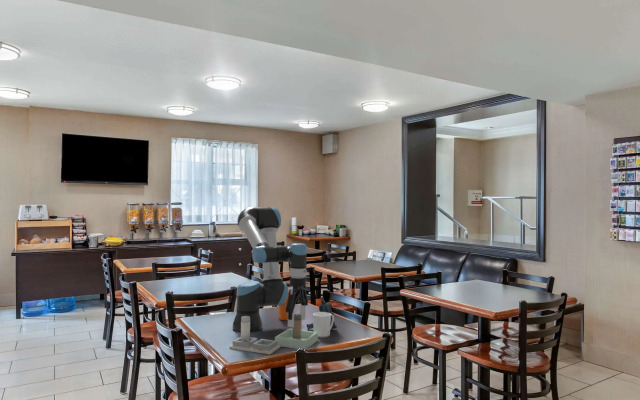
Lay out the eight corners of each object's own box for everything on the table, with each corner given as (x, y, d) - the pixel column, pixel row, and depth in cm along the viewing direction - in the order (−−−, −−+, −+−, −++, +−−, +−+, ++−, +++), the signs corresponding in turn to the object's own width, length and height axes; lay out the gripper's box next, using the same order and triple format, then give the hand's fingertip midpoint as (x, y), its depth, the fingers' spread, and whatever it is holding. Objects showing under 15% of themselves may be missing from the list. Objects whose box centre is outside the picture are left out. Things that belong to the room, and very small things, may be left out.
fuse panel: (229, 348, 186) (229, 341, 186) (241, 341, 195) (241, 335, 195) (269, 354, 179) (270, 347, 179) (280, 347, 188) (280, 340, 188)
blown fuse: (291, 341, 194) (291, 315, 195) (294, 339, 198) (295, 313, 198) (299, 342, 193) (299, 316, 193) (302, 340, 197) (303, 314, 197)
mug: (316, 338, 202) (317, 317, 203) (309, 333, 211) (310, 312, 211) (337, 336, 207) (337, 315, 207) (329, 331, 215) (330, 311, 215)
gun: (301, 301, 219) (329, 294, 219) (309, 333, 219) (337, 326, 219) (300, 303, 217) (329, 295, 217) (308, 335, 216) (337, 327, 216)
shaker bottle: (284, 315, 246) (284, 281, 246) (296, 318, 240) (296, 282, 241) (273, 318, 238) (274, 283, 239) (285, 321, 233) (286, 285, 234)
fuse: (238, 344, 188) (239, 317, 188) (243, 342, 192) (244, 315, 192) (246, 346, 186) (247, 318, 187) (251, 343, 190) (251, 316, 190)
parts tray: (274, 345, 191) (274, 337, 191) (288, 336, 205) (288, 328, 205) (305, 349, 186) (305, 341, 186) (317, 340, 200) (317, 332, 200)
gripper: (294, 281, 183) (293, 331, 183) (315, 273, 207) (314, 317, 206) (278, 280, 186) (277, 328, 186) (301, 272, 209) (300, 315, 209)
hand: (296, 322), depth 196 cm, fingers open, 13 cm apart
